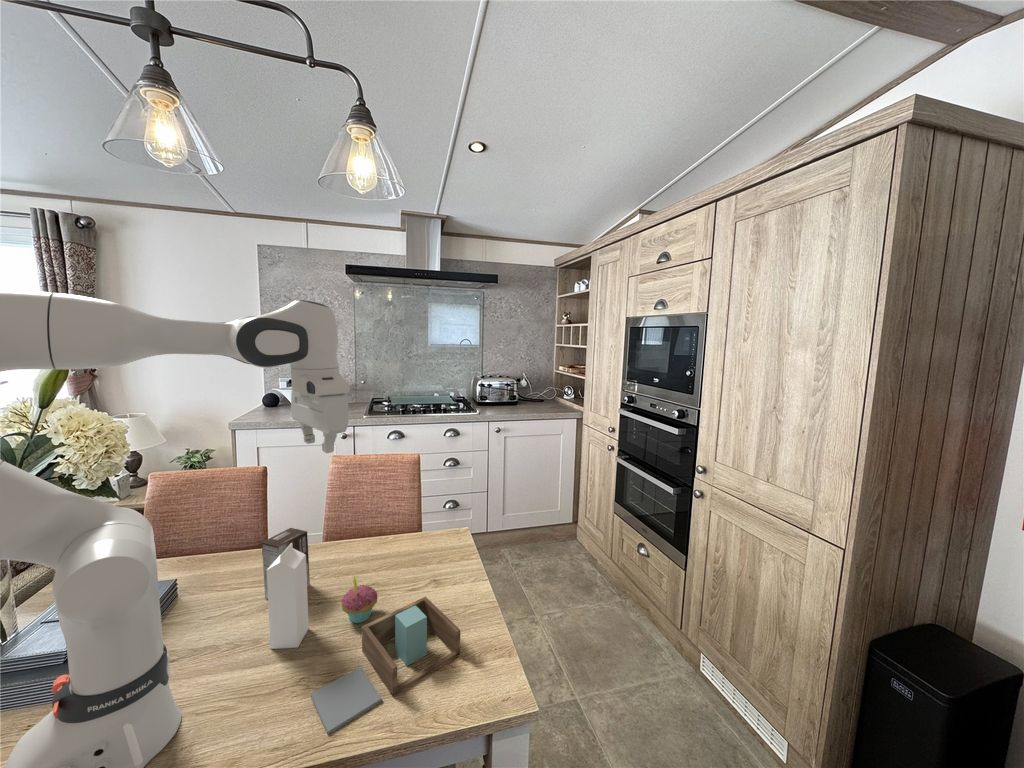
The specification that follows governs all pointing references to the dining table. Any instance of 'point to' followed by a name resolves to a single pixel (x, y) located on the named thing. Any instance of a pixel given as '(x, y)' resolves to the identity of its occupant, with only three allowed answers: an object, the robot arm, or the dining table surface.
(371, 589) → the cupcake
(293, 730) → the dining table surface
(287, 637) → the milk
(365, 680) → the mat
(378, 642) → the crate
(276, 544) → the coffee box
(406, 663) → the block
